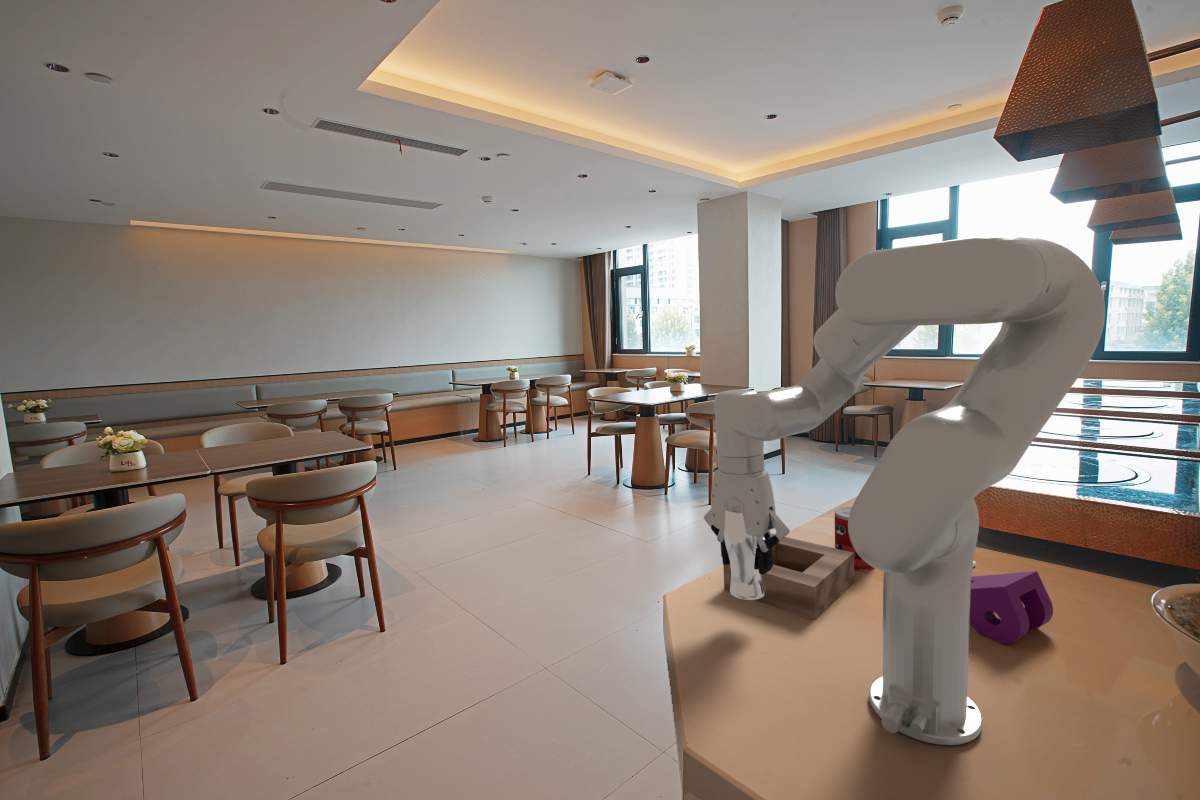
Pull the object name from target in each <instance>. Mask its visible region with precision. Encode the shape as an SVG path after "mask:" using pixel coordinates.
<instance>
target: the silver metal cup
mask: <svg viewBox="0 0 1200 800" xmlns="http://www.w3.org/2000/svg"><path fill="white" fill-rule="evenodd" d="M743 518H744V517H743V513H741V512H732V511H728V510H725V529H724V530H723V534H724V541H725V546H726V551H727V555H728V559H729V563H730V567H731V584H730V592H729V593H730V594H731V596H733V597H734V598H737V599H740V600H745V601H746V600H747V601H756V599H760V598H762V597H764V596H765V595H766V592H767V591H766V586H765V582H764V578H763V575H761V574H760V573H759V567H758V551H760V550H761V548H760V546H759V544H758V539H757V537H756V536H750V535H748V534H746V529H745V524H744V519H743ZM764 537H765V534H764Z"/></svg>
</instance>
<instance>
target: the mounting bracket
mask: <svg viewBox="0 0 1200 800" xmlns="http://www.w3.org/2000/svg"><path fill="white" fill-rule="evenodd" d="M995 614H996V615H997V616H998V617H997V616H996V615H995ZM1053 615H1054V607H1053V602H1052V600H1051V598H1050V596H1049V593H1048V592H1047V589H1046V588H1045V585H1044V583H1043V580H1042V579H1041V577H1040V575H1039V572H1038V570H1036V571H1035V570H1034V571H1024V572H1023V571H1022V572H1012V573H1011V572H1010V573H997V574H985V575H977V576H971V594H970V618H969V623H970V624H971V626H972V627H973V628H974V630H975V631H976V632H977V633H978V634H980V635H981V636H982V637H984V638H986V639H988V640H990V641H993V642H996V643H998V644H999V645H1009V644H1012V643H1014V642H1015V641H1018V640H1019V639H1022V638H1023V637H1025V636H1026V635H1027V633H1028V631H1034V630H1037V629H1039V628H1040V627H1042V626H1044V625H1046V624H1048V623H1049V622H1050V620H1051V619H1052V617H1053Z"/></svg>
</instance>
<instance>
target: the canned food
mask: <svg viewBox="0 0 1200 800" xmlns="http://www.w3.org/2000/svg"><path fill="white" fill-rule="evenodd" d="M851 508H852V506H842V507H838V508H836V509H835V510H834V548H836V549H840V550H844V551H849V552H853V553H854V570H856V569H867V570H870V568H871V569H873V568H874V567H872V566H870V565H869V564H867V563H866V562H865V561H864V560H863V559H862V558H861V557H860V556H859V555H858V554H857V552H856V551H855V549H854V547H853V545H852V543H851V541H850V537H849V532H848V519H849V514H850V511H851Z"/></svg>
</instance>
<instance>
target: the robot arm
mask: <svg viewBox="0 0 1200 800" xmlns="http://www.w3.org/2000/svg"><path fill="white" fill-rule="evenodd" d="M834 295H835V296H834V297H835V298H834V299H835V302H836V307H837V308H838V309H837V310H836V311H835V312H834V313H833V314H832V315H831V316H829V318H827V320H826V321H825V322H824V323H823V324H822V325H821V326H820V327H819V328H818V329H817V330H816V332H815V333H814V335H813V340H812V341H813V347H814V349H815V351H816V353H817V355H818V356H819V360H818V361H817V362H816V364H815V365H814V366H813V367H812V368H811V370H810V371H809V372H808V373H807V374H806V375H804V376H803V378H802V379H800V380H799V381H798V382H797V383H796V384H795V385H792V386H787V387H781V388H776V389H772V390H767V391H761V392H757V391H756V390H753V389H743V388H742V389H729V390H724V391H720V392H718V393H717V394H716V395H715V397H714V401H713V402H714V406H713V407H714V419H715V420H714V421H715V434H716V436H715V437H716V451H717V453H716V454H713V455H712V457H711V460H712V462H713V463H717V468H718V469H716V470H714V472H713V475H712V483H711V491H710V494H711V495H710V509H709V510H708V511H707V512H706V513H705V515H703V520H704V521H705V522H706V523H707V525H708V526H709V527H710V529H711V531H712V532H713V534H715V536H716V540H717V542H718V543H720V555H721V559H722V561H721V562H722V565H728V564H730V563H729V559H728V555H727V551H726V546H725V541H724V534H723V530H724V529H725V510H728V511H732V512H741V513H743V517H744V518H743V519H744V524H745V529H746V534H748V535H750V536H756V537H757V539H758V544H759V546H760V548H761V550H760V551H758V567H759V573H760V574H761V575H764V574H766V573H767V572H768V571H770V570H771V568H772V567H773V554H772V548H773V547H774V546H775V545H776V544H777V543H778V542H780V541H781V540H782V539H783V538H784V537H787V535H789V533H790V529H789V528H788V526H787V525H786V524H785V523H784V522H783V520H781V518H780V517H779V516H778V515H777V512H776V503H775V502H776V501H775V496H774V491H773V484H772V482H771V479H770V474H769V472H768V471H766V470H765V457H764V456H765V455H764V454H765V453H764V442H771V441H772V442H773V441H776V440H780V439H784V438H787V437H789V436H794V435H798V434H802V433H806V432H809V431H811V430H813V429H816V428H817V427H818V426H820V425H821V424H823V423H824V422H825V421H826V420H827V419H829V418H830V417H831V416H832V415H834V414H835V412H837V411H838V410H839V409H840V408H841V407H843V406H844V405H845V404H846V403H847V402H848V401H849V400H850V398H851V397H852V396H853V395H854V394H855V392H856V391H857V389H858V387H859V386H860V384H861V382H862V380H863V377H864V376H865V374H867V372H868V371H870V369H872V368H873V367H874V366H875V365H876V364H878V362H880V361H881V360H882V359H883V358H885V356H886V355H887V354H888V353H890V352H891V351H892V350H893V349H894V348H895V347H896V346H897V345H899V344H900V343H901V342H902V341H903V340H905V338H906V337H908V336H909V335H910V334H911V333H912V332H913V331H914V330H915V329H917V328H918V327H920V326H942V325H945V326H946V325H947V326H948V325H949V326H950V325H951V326H952V325H983V324H984V325H986V324H996V323H1002V324H1001V327H1000V330H999V332H998V333H997V335H996V337H995V338H994V340H993V341H992V342H991V343H990V344H989V346H988V347H987V348H986V349H985V350H984V351H983V353H982V354H980V357H979V358H978V359H977V361H976V362H975V363H974V365H973V367H972V369H971V371H970V373H969V374H968V375H967V377H966V379H965V380H964V382H963V383H962V384H961V386H960V388H959V389H958V391H957V392H956V393H955V395H954V396H953V397H952V399H951V400H950V401H949V402H948V403H947V404H946V405H945V406H943V407H941V408H939V409H937V410H933V411H930V412H927V413H924V414H922V415H919V416H917V417H915V418H913V419H911V421H909V422H908V423H906V424H905V425H903V426H902V428H901V429H900V430H899V431H897V433H896V434H895V435H894V436H893V437H892V439H891V440H890V442H889V443H888V445H887V446H886V448H885V449H884V451H883V453H882V455H880V456H881V457H879V460H878V461H877V463H876V464H875V466H874V468H873V469H872V471H871V473H870V475H869V476H868V477H867V480H866V481H865V483H864V485H863V486H862V488H861V490H860V491H859V493H858V495H857V496H856V498H855V500H854V502H853V504H852V505H851V507H852V508H851V511H850V514H849V519H848V532H849V537H850V541H851V543H852V545H853V547H854V549H855V551H856V552H857V554H858V555H859V556H860V557H861V558H862V559H863V560H864V561H865V562H866V563H867V564H869V565H870V566H872V567H873V568H874V569H876V570H879V571H881V572H883V577H882V579H883V581H882V585H883V586H882V587H883V588H882V676H880V677H877V678H876V679H875V680H874V681H873V682H872V683H871V685H870V687H869V702H870V705H871V707H872V709H873V711H874V712H875V714H876V715H877V716H878V717H879V718H880V719H881V721H880V722H881V725H882V727H883V729H885V730H886V731H887V732H889V733H891V734H895V733H898V732H900V733H901V734H903V735H906V736H908V737H910V738H913V739H915V740H916V741H917V740H918V741H921V742H924V743H928V744H934V745H938V746H939V745H941V746H942V745H943V746H956V745H962V744H963V745H964V744H966V743H970V742H972V741H974V740H975V739H976V738H978V737H979V735H980V734H981V731H982V726H983V718H982V713H981V711H980V710H979V708H978V706H977V705H976V703H974V701H973V700H972V699H971V698H969V697H968V693H969V692H968V691H969V689H968V688H969V686H968V685H969V657H970V656H969V653H970V651H969V649H970V648H969V647H970V621H969V618H970V594H971V577H973V576H972V575H973V567H972V566H973V561H975V559H974V558H975V553H976V547H977V543H978V535H979V531H980V529H979V528H980V527H979V526H980V517H979V511H978V505H977V504H976V501H975V498H976V497H977V496H978V495H979V494H980V492H982V491H984V490H987V489H988V488H990V487H991V486H994V485H995V484H997V483H999V482H1000V481H1002V480H1003V479H1005V478H1006V477H1007V476H1008V475H1010V474H1011V473H1012V472H1013V471H1014V470H1015V469H1016V467H1017V465H1019V462H1020V460H1021V459H1022V458H1023V456H1024V454H1025V453H1026V451H1027V450H1028V448H1029V447H1030V446H1031V444H1032V443H1033V441H1034V440H1035V439H1036V437H1037V436H1038V435H1039V433H1040V432H1041V430H1042V429H1043V428H1044V426H1045V425H1046V424H1047V422H1048V421H1049V420H1050V418H1051V417H1052V415H1053V414H1054V413H1055V411H1056V409H1057V408H1058V406H1059V405H1060V404H1061V402H1062V401H1063V399H1064V398H1065V397H1066V395H1067V394H1068V392H1069V391H1070V390H1071V388H1072V386H1073V385H1074V384H1075V383H1076V381H1077V380H1078V378H1079V377H1080V375H1081V374H1082V373H1083V371H1084V369H1085V368H1086V367H1087V365H1088V364H1089V362H1090V361H1091V359H1092V357H1093V356H1094V354H1095V351H1096V349H1097V347H1098V345H1099V343H1100V339H1101V338H1102V334H1103V331H1104V326H1105V321H1106V320H1105V319H1106V302H1105V296H1104V292H1103V289H1102V287H1101V285H1100V282H1099V280H1098V278H1097V277H1096V275H1095V273H1094V272H1093V271H1092V269H1091V268H1090V267H1089V265H1088V264H1087V263H1086V262H1085V261H1084V259H1083V260H1082V258H1081V257H1079V256H1078V255H1077V254H1076V253H1075V252H1073V251H1072V250H1070V249H1069V248H1067V247H1065V246H1063V245H1061V244H1059V243H1057V242H1053V241H1050V240H1047V239H1042V238H1035V237H1027V236H1026V237H1025V236H1017V235H1016V236H1014V235H1008V234H988V235H977V236H969V237H962V238H957V239H956V238H955V239H950V240H943V241H942V240H941V241H937V242H930V243H922V244H915V245H909V246H901V247H895V248H893V247H892V248H886V249H877V250H872V251H868V252H866V253H863V254H862V255H860V256H858V257H857V258H855V259H854V260H852V261H851V262H850V263H849V264H848V265H847V266H846V267H845V268H844V269H843V271H842V272H841V274H840V275H839V278H838V279H837V282H836V287H835V294H834ZM773 529H775V533H774V534H775V535H773V536H772V535H771V534H772V532H771V530H773ZM764 534H765V537H764Z"/></svg>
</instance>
